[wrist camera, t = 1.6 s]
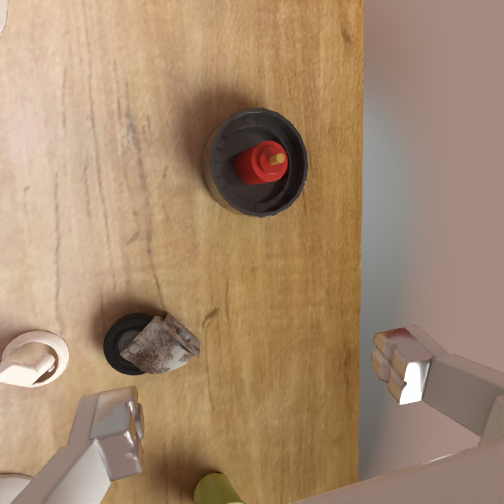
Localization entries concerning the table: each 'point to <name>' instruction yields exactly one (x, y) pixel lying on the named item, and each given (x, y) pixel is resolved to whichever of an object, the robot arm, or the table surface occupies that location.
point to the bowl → (241, 138)
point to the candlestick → (12, 486)
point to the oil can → (261, 163)
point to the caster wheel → (149, 344)
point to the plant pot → (215, 491)
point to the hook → (33, 370)
